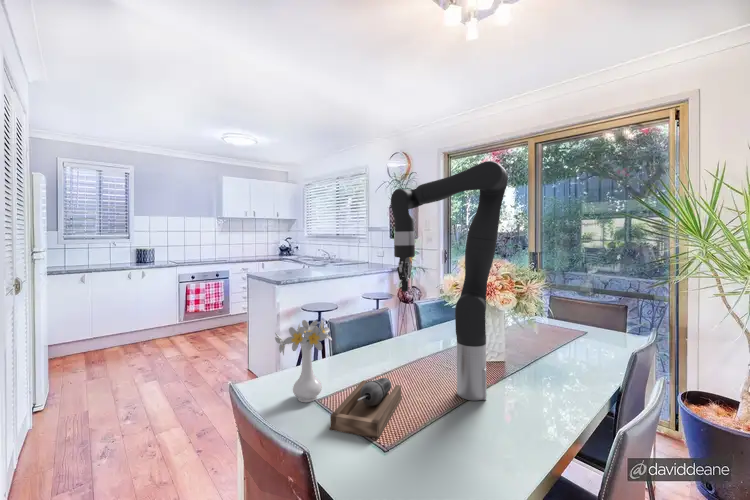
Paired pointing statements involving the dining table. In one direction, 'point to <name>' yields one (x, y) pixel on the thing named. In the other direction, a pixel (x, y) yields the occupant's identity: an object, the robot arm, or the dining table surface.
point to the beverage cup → (375, 391)
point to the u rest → (365, 413)
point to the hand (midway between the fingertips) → (405, 291)
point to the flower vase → (306, 357)
